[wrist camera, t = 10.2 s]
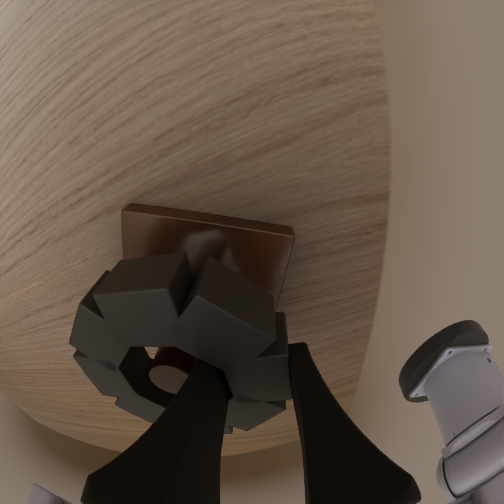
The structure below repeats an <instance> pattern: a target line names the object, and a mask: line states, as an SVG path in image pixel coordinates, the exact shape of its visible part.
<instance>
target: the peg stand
mask: <svg viewBox="0 0 504 504" xmlns="http://www.w3.org/2000/svg"><path fill="white" fill-rule="evenodd" d="M121 220H122V245H123V260H126V259H133V258H140V257H147V256H154V255H162V254H169V253H176V252H183V251H185V252H186V253H187V256H188V259H189V263H190V266H191V270H192V273H193V277H194V276H195V275H196V274H197V272H198V271H199V269H200V268H201V267H202V265H203V264H204V263H205V261H206V260H207V259H208V257H212V258H214V259H215V260H217V261H218V262H220V263H221V264H223V265H225V266H226V267H228V268H229V269H231V270H232V271H234V272H236V273H237V274H239V275H240V276H242V277H244V278H245V279H247V280H248V281H250V282H252V283H253V284H255V285H256V286H258V287H260V288H261V289H263V290H264V291H266V292H268V293H269V294H271V295H272V296H274V308H275V312H276V309H277V305H278V301H279V298H280V294H281V290H282V287H283V283H284V279H285V275H286V271H287V267H288V263H289V260H290V256H291V252H292V248H293V244H294V240H295V234H294V231H293V228H292V227H287V226H281V225H275V224H269V223H263V222H257V221H251V220H244V219H238V218H232V217H225V216H219V215H212V214H205V213H198V212H191V211H184V210H177V209H170V208H162V207H155V206H147V205H139V204H129V205H128V206H126V207H125V208H124V209H122V211H121ZM197 360H198V358H197V357H195V356H193V355H191V354H189V353H187V352H185V351H183V350H181V349H179V348H177V347H176V346H171V347H158V349H157V352H156V355H155V357H154V360H153V363H152V365H151V368H150V371H149V377H150V379H151V381H152V382H153V383H154V384H155V385H156V386H157V387H159V388H160V389H162V390H164V391H166V392H169V393H173V394H177V392H178V391H179V389H180V388H181V386H182V385H183V383H184V381H185V380H186V378H187V377H188V375H189V373H190V372H191V370H192V368H193V367H194V365H195V363H196V362H197Z"/></svg>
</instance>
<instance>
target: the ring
mask: <svg viewBox="0 0 504 504" xmlns="http://www.w3.org/2000/svg"><path fill="white" fill-rule="evenodd" d="M69 344H70V345H72V346H73V347H75V348H76V349H77V350H76V352H75V353H74V355H73V357H74V359H75V360H76V362H77V363H78V364H79V366H80V367H81V368H82V370H83V371H84V372H85V374H86V375H87V376H88V378H89V379H90V380H91V382H92V383H93V384H94V385H95V387H96V388H97V389H98V390H99V392H100V393H101V394H102V395H105V396H111V397H117V400H116V402H115V405H116V406H118V407H120V408H122V409H124V410H126V411H128V412H130V413H132V414H134V415H136V416H138V417H140V418H142V419H144V420H146V421H149V422H151V423H154V422H155V421H156V420H157V419H158V418H159V416H160V415H161V414H162V413H163V411H164V410H165V409H166V407H167V406H168V405H169V403H170V402H171V401H172V399H173V398H174V397H175V395H176V394H173V393H169V392H166V391H164V390H162V389H160V388H159V387H157V386H156V385H155V384H154V383H153V382H152V381H151V379H150V377H149V371H150V368H151V365H152V363H153V359H152V358H150V357H149V355H148V353H147V351H146V350H145V348H144V347H171V346H176V347H177V348H179V349H181V350H183V351H185V352H187V353H189V354H191V355H193V356H195V357H197V358H199V359H201V360H202V361H205V362H207V363H209V364H211V365H214V366H215V367H217V368H219V369H221V370H223V373H224V375H225V378H226V381H227V383H228V386H229V394H228V402H229V403H228V410H227V416H226V423H225V429H224V434H232V433H233V427H235V428H238V429H242V430H245V431H248V430H250V429H252V428H254V427H256V426H258V425H260V424H262V423H263V422H265V421H267V420H269V419H271V418H272V417H274V416H276V415H278V414H279V413H281V412H283V411H284V410H286V400H290V399H293V394H292V383H291V371H290V360H289V348H288V338H287V328H286V319H285V313H284V312H276V313H275V308H274V296H272V295H271V294H269V293H268V292H266V291H264V290H263V289H261V288H260V287H258V286H256V285H255V284H253V283H252V282H250V281H248V280H247V279H245V278H244V277H242V276H240V275H239V274H237V273H236V272H234V271H232V270H231V269H229V268H228V267H226V266H225V265H223V264H221V263H220V262H218V261H217V260H215V259H214V258H212V257H208V259H207V260H206V261H205V263H204V264H203V265H202V267H201V268H200V269H199V271H198V272H197V274H196V275H195V276H194V277H193V273H192V270H191V266H190V263H189V259H188V256H187V253H186V252H185V251H183V252H176V253H169V254H162V255H154V256H147V257H140V258H133V259H126V260H120V261H119V262H118V263H117V265H116V266H115V267H114V268H113V269H112V270H111V272H110V271H109V270H106V271H105V272H104V274H103V275H102V276H101V277H100V278H99V280H98V281H97V282H96V283H95V284H94V286H93V287H92V288H91V289H90V291H89V292H88V293H87V294H86V296H85V297H84V298H83V299H82V301H81V302H80V303H79V307H78V310H77V313H76V317H75V321H74V324H73V328H72V332H71V336H70V340H69Z"/></svg>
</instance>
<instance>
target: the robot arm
mask: <svg viewBox="0 0 504 504" xmlns="http://www.w3.org/2000/svg"><path fill="white" fill-rule="evenodd" d="M288 348H289V360H290V371H291V383H292V394H293V402H294V407H295V413H296V418H297V424H298V429H299V434H300V440H301V446H302V453H303V467H304V483H305V502H306V504H416V503H418V502H419V501H420V500H421V493H420V490H419V488H418V486H417V484H416V482H415V480H414V478H413V477H412V476H411V475H410V474H409V473H408V472H406V471H405V470H403V469H402V468H401V467H399V466H398V465H397V464H396V463H394V462H393V461H392V460H391V459H389V458H388V457H387V456H386V455H385V454H383V453H382V452H381V451H380V450H379V449H378V448H377V447H376V446H375V445H374V444H373V443H372V442H371V441H370V440H369V439H368V438H367V437H366V436H365V435H364V434H363V433H362V432H361V431H360V430H359V428H358V427H357V426H356V425H355V424H354V423H353V422H352V421H351V419H350V418H349V417H348V415H347V414H346V413H345V412H344V410H343V409H342V408H341V406H340V405H339V403H338V402H337V400H336V399H335V398H334V396H333V395H332V393H331V392H330V390H329V388H328V387H327V385H326V383H325V382H324V380H323V378H322V377H321V375H320V373H319V371H318V369H317V367H316V365H315V363H314V361H313V359H312V357H311V354H310V352H309V349H308V346H307V344H306V343H304V342H302V343H294V344H288ZM491 348H492V345H491V344H484V345H471V346H456V347H446V348H444V349H443V351H442V352H441V353H440V355H439V356H438V358H437V359H436V360H435V362H434V363H433V364H432V366H431V367H430V368H429V370H428V371H427V372H426V374H425V375H424V376H423V377H422V379H421V380H420V381H419V382H418V384H417V385H416V386H415V387H414V388H413V390H412V391H411V392H410V393H409V397H419V396H427V398H428V401H429V403H430V405H431V408H432V410H433V413H434V415H435V418H436V420H437V423H438V426H439V428H440V431H441V434H442V436H443V439H444V442H445V445H446V447H445V448H444V449H442V454H443V456H442V457H441V458H440V460H439V463H438V466H437V471H436V472H437V474H436V475H437V482H438V485H439V488H440V491H441V492H442V494H443V495H444V496H445V497H446V499H447V501H448V503H449V504H504V376H503V374H502V373H501V371H500V369H499V367H498V366H497V364H496V363H495V361H494V360H493V358H492V357H491V355H490V354H489V351H490V350H491ZM228 394H229V386H228V383H227V381H226V378H225V375H224V373H223V370H221V369H219V368H217V367H215V366H214V365H211V364H209V363H207V362H205V361H202V360H201V359H199V358H198V360H197V362H196V363H195V365H194V367H193V368H192V370H191V372H190V373H189V375H188V377H187V378H186V380H185V381H184V383H183V385H182V386H181V388H180V389H179V391H178V392H177V394H176V395H175V397H174V398H173V399H172V401H171V402H170V403H169V405H168V406H167V407H166V409H165V410H164V411H163V413H162V414H161V415H160V416H159V418H158V419H157V420H156V421H155V422H154V423H153V424H152V425H151V427H150V428H149V429H148V430H147V431H146V432H145V433H144V434H143V435H142V436H141V437H140V438H139V439H138V440H137V441H136V442H135V443H133V444H132V445H131V446H130V447H129V448H128V449H126V450H125V451H124V452H123V453H121V454H120V455H119V456H118V457H116V458H115V459H114V460H112V461H111V462H110V463H108V464H106V465H105V466H103V467H102V468H100V469H98V470H97V471H95V472H93V473H92V474H90V475H88V478H87V480H86V483H85V487H84V490H83V493H82V497H81V502H82V503H83V504H220V460H221V448H222V442H223V435H224V429H225V423H226V416H227V410H228V403H229V402H228ZM27 504H72V503H70V502H68V501H66V500H64V499H62V498H60V497H58V496H56V495H54V494H53V493H51V492H49V491H47V490H46V489H44V488H42V487H40V486H39V485H37V484H35V483H34V484H33V486H32V489H31V492H30V495H29V498H28V502H27Z"/></svg>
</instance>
